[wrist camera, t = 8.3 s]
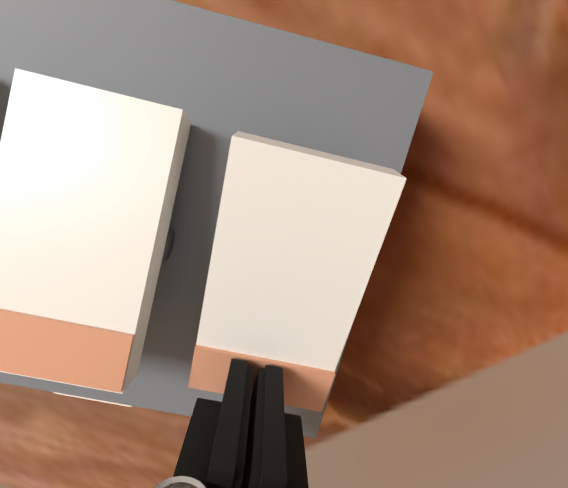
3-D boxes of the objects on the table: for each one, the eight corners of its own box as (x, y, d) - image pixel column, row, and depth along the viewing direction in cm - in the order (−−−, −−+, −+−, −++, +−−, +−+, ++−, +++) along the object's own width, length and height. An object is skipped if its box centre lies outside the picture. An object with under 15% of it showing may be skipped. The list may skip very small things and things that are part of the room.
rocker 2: (393, 169, 10) (408, 179, 9) (317, 383, 13) (320, 414, 12) (238, 131, 9) (230, 136, 8) (197, 360, 12) (187, 389, 11)
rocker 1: (191, 122, 11) (181, 107, 9) (136, 375, 11) (119, 396, 10) (43, 86, 10) (11, 65, 9) (-11, 348, 11) (-49, 366, 9)
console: (392, 90, 14) (449, 64, 10) (306, 379, 18) (316, 464, 13) (-71, -33, 13) (-275, -134, 8) (-59, 310, 17) (-194, 377, 12)
